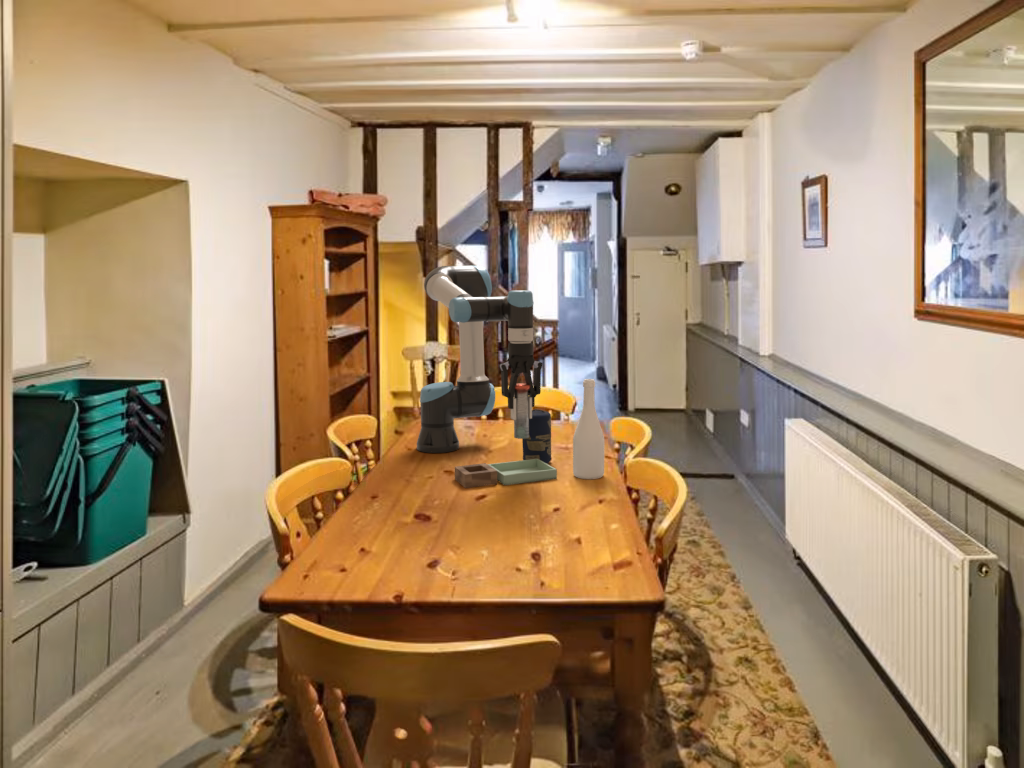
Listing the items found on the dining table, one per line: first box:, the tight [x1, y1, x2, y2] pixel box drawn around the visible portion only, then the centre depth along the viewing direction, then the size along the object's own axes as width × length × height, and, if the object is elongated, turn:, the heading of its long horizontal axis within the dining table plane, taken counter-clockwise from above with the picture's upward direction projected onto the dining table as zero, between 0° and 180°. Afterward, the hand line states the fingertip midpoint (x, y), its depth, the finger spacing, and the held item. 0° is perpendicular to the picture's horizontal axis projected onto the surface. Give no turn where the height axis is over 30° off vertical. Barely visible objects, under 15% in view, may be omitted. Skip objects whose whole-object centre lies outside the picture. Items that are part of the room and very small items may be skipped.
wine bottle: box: [572, 378, 605, 480], centre depth 227 cm, size 10×10×30 cm
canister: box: [521, 408, 552, 464], centre depth 244 cm, size 10×10×18 cm
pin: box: [513, 382, 530, 440], centre depth 227 cm, size 6×6×16 cm
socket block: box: [454, 462, 498, 489], centre depth 224 cm, size 10×10×4 cm
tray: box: [486, 459, 558, 486], centre depth 229 cm, size 14×17×3 cm
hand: (521, 418), depth 227 cm, fingers closed on pin, 4 cm apart
